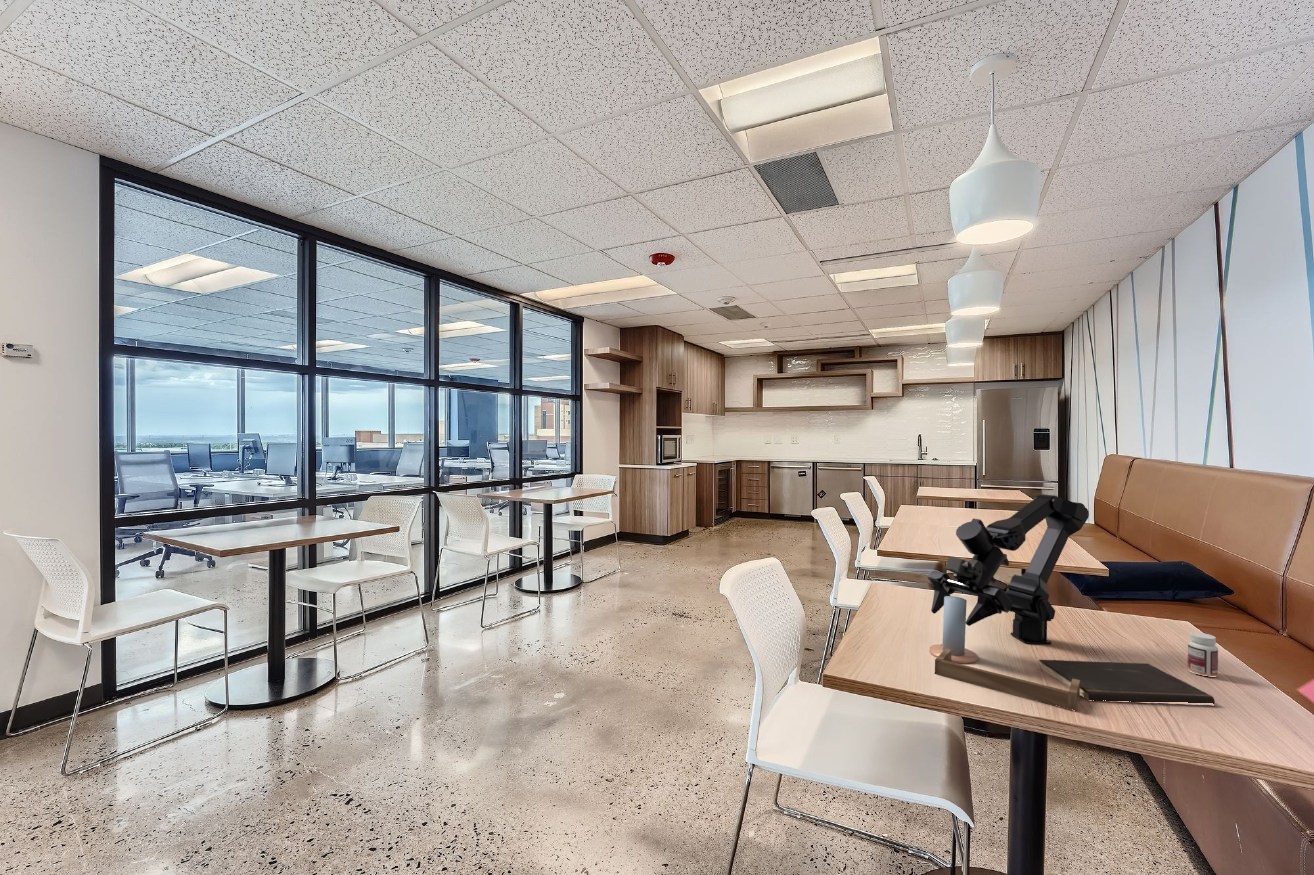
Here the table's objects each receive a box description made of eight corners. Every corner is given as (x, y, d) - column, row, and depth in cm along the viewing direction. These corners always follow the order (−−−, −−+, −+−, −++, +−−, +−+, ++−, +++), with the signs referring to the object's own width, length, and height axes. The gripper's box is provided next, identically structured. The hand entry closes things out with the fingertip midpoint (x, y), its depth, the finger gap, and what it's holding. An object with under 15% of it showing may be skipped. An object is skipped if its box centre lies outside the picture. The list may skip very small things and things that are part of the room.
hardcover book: (1038, 669, 125) (1038, 659, 125) (1147, 673, 124) (1148, 663, 124) (1089, 704, 109) (1089, 692, 109) (1215, 709, 108) (1215, 697, 108)
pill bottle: (1209, 670, 124) (1210, 633, 124) (1223, 679, 120) (1223, 640, 120) (1182, 667, 126) (1183, 630, 126) (1194, 676, 121) (1195, 637, 121)
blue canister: (951, 647, 134) (953, 595, 134) (969, 654, 130) (971, 600, 130) (937, 649, 133) (939, 596, 133) (954, 657, 128) (957, 602, 128)
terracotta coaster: (963, 647, 136) (963, 644, 136) (986, 663, 126) (986, 661, 126) (921, 646, 137) (921, 643, 137) (942, 663, 127) (942, 660, 127)
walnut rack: (945, 661, 127) (945, 648, 127) (1079, 695, 111) (1079, 680, 111) (934, 673, 121) (934, 659, 121) (1075, 711, 105) (1075, 695, 105)
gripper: (933, 538, 141) (899, 586, 137) (1004, 552, 124) (968, 608, 120) (954, 566, 145) (922, 614, 140) (1027, 585, 127) (993, 640, 123)
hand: (949, 618), depth 131 cm, fingers open, 9 cm apart
